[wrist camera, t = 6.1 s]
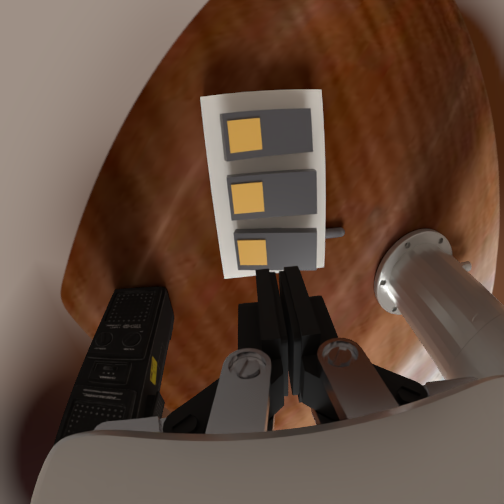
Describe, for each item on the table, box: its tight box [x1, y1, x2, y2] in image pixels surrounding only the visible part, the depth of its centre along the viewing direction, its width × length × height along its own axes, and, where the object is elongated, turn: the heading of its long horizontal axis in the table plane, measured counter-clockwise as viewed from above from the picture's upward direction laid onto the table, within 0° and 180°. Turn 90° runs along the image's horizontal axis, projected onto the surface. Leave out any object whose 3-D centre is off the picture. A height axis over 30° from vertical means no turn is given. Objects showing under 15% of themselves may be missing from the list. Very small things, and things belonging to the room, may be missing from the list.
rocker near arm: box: [233, 228, 317, 270], centre depth 25 cm, size 7×4×2 cm, turn 95°
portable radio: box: [53, 287, 174, 447], centre depth 21 cm, size 8×6×25 cm
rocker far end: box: [219, 108, 313, 162], centre depth 21 cm, size 7×4×2 cm, turn 94°
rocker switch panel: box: [200, 89, 345, 279], centre depth 26 cm, size 13×17×3 cm
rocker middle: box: [226, 169, 317, 221], centre depth 23 cm, size 7×4×2 cm, turn 95°
